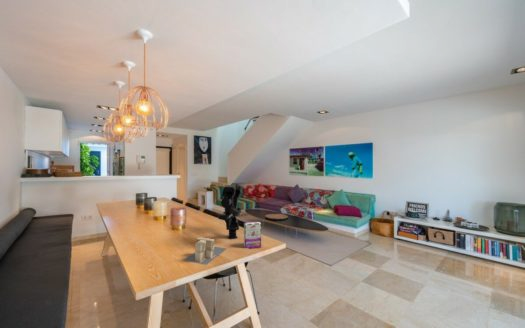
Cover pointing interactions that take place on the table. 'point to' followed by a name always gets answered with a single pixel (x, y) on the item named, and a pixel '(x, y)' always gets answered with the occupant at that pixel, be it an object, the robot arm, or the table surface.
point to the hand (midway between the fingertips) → (228, 226)
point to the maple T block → (204, 249)
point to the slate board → (207, 260)
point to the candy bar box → (252, 235)
